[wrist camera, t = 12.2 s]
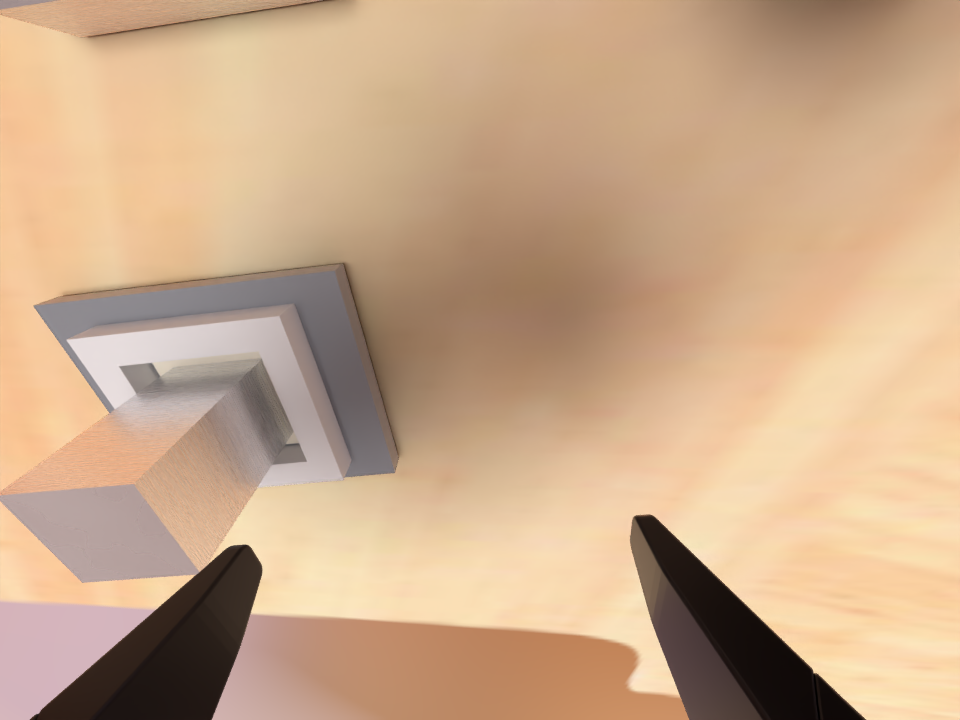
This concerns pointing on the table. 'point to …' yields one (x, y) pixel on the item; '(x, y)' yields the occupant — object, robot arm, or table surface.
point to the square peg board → (125, 12)
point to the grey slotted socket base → (245, 357)
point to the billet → (157, 474)
